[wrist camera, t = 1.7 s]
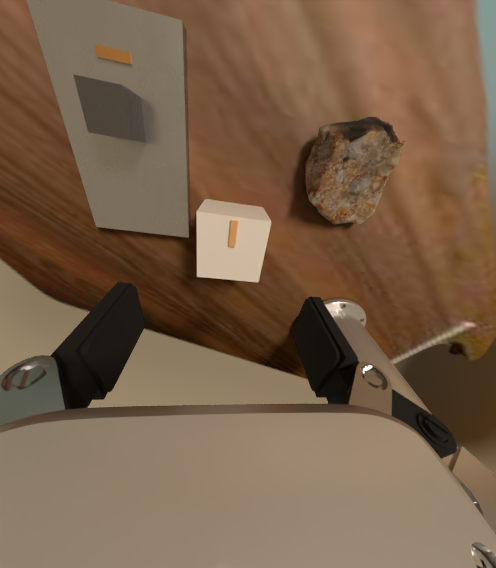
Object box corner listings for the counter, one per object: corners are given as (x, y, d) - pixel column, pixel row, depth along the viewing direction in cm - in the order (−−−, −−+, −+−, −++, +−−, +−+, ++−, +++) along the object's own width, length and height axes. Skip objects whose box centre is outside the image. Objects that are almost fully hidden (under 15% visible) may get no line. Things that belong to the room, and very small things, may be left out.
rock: (295, 136, 18) (303, 236, 22) (337, 103, 13) (338, 243, 17) (367, 125, 20) (362, 220, 24) (431, 92, 15) (411, 222, 18)
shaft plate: (190, 234, 23) (183, 247, 19) (102, 223, 21) (77, 236, 18) (185, 30, 14) (169, -13, 11) (35, -10, 13) (-39, -74, 9)
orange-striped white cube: (253, 258, 25) (258, 283, 20) (204, 252, 24) (196, 278, 19) (262, 207, 22) (271, 222, 16) (205, 198, 21) (196, 212, 15)
